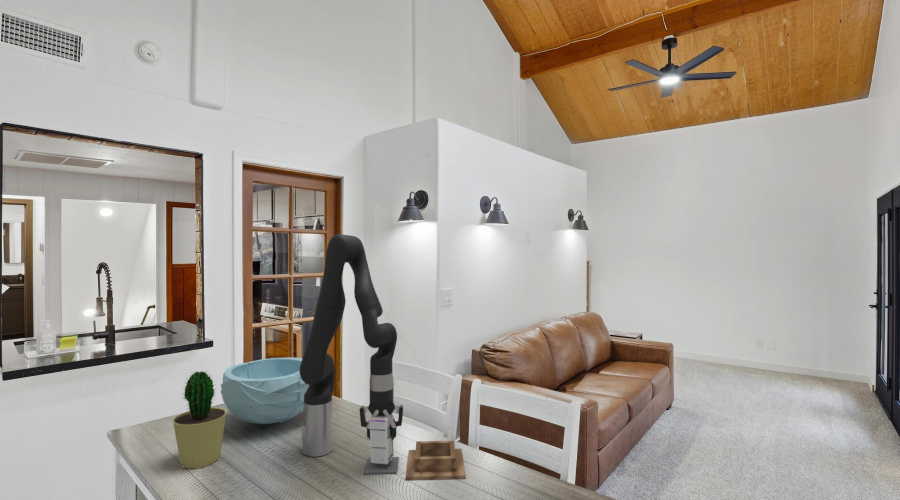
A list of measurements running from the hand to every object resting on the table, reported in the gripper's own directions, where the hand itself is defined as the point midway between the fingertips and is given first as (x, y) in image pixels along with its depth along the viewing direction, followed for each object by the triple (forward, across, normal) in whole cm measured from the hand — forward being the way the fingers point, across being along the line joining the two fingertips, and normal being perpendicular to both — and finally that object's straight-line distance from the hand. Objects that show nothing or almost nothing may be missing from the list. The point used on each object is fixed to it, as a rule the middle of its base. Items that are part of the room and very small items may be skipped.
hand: (381, 438), depth 145 cm
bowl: (+9, -48, +38) cm, 62 cm away
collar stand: (+9, +17, 0) cm, 19 cm away
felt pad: (+9, 0, 0) cm, 9 cm away
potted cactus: (+9, -60, +7) cm, 61 cm away
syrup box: (+7, 0, 0) cm, 7 cm away
